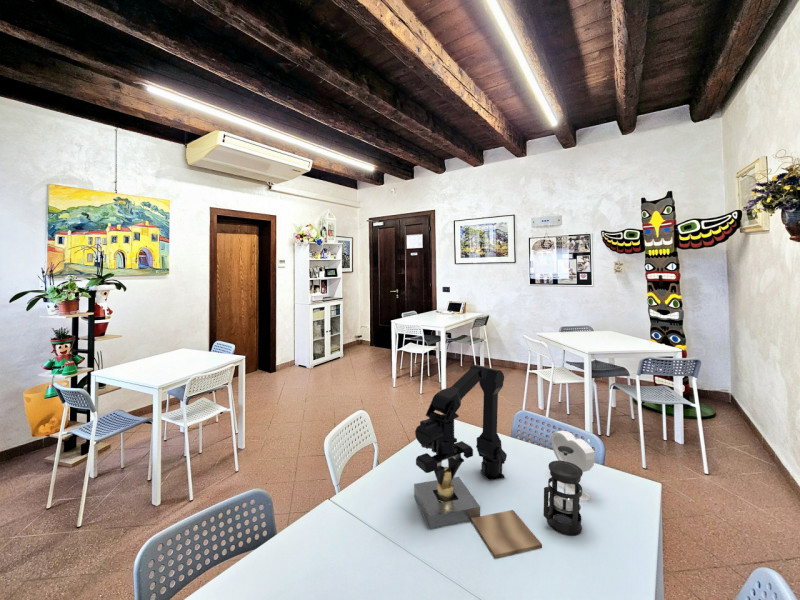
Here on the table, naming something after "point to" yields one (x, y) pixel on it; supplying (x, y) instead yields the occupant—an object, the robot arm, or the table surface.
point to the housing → (446, 504)
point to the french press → (563, 495)
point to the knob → (445, 487)
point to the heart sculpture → (573, 455)
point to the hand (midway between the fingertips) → (445, 482)
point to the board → (505, 534)
